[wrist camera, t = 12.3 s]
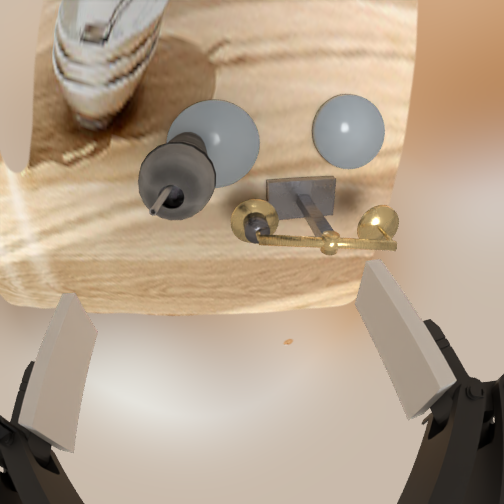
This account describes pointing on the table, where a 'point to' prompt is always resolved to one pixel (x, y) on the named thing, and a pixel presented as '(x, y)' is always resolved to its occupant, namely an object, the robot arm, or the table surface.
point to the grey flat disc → (222, 137)
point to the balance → (310, 217)
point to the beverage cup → (177, 178)
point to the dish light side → (348, 131)
